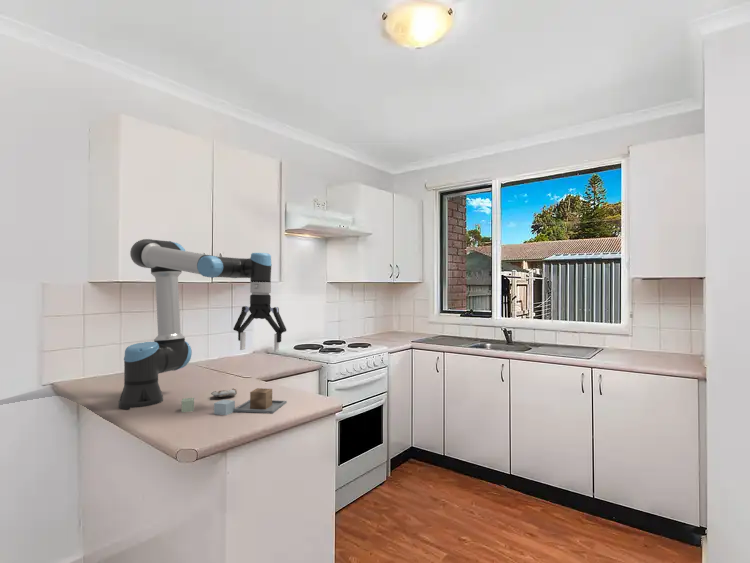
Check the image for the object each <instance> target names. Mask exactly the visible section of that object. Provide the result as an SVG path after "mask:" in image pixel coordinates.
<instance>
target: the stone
mask: <svg viewBox="0 0 750 563" xmlns="http://www.w3.org/2000/svg"><path fill="white" fill-rule="evenodd" d="M210 394H211V396H213V397H215V398H223V397H224V398H226V397H227V396H230V397H232V396H233V397H234V396H236V395H237V394H238V392H237V388H231V389H227V390H226V389H225V390H224V389H223V390H218V391H216V390H215V391H213V392H211V393H210Z"/></svg>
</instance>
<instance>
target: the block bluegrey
mask: <svg viewBox="0 0 750 563" xmlns="http://www.w3.org/2000/svg"><path fill="white" fill-rule="evenodd" d="M235 408H236V401H235V400H230V399H221V400H218V401H216V402H213V414H214V415H218V416H227V415H230V414H232V413H235V412H234V409H235Z"/></svg>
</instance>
